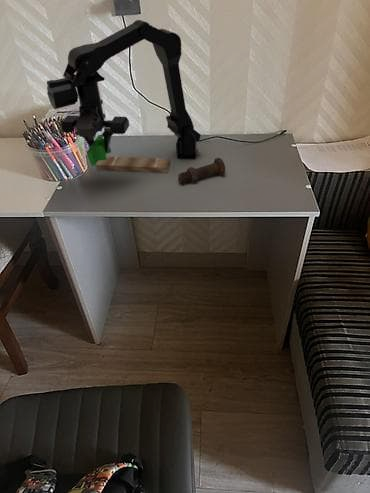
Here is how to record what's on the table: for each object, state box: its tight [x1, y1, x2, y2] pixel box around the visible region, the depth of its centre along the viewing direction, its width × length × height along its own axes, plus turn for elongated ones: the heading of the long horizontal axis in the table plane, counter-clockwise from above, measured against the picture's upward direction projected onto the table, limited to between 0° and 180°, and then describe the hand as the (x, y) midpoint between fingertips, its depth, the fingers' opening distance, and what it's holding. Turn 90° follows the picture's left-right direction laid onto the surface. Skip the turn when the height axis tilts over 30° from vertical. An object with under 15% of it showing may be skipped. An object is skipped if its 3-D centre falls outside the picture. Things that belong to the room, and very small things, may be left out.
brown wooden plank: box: [95, 155, 171, 174], centre depth 126 cm, size 24×6×2 cm, turn 82°
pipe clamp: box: [86, 134, 112, 167], centre depth 113 cm, size 11×4×5 cm, turn 172°
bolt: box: [177, 157, 226, 184], centre depth 119 cm, size 6×5×15 cm
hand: (100, 151), depth 113 cm, fingers closed on pipe clamp, 4 cm apart
